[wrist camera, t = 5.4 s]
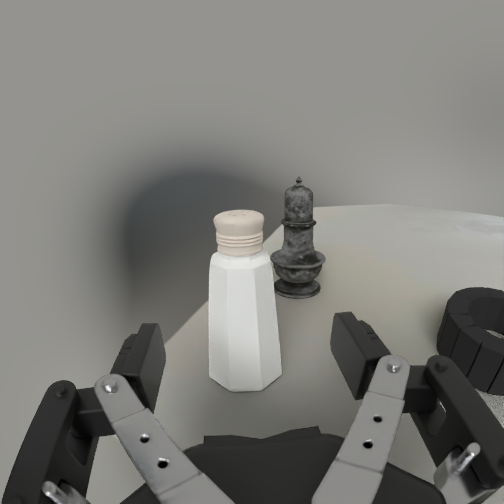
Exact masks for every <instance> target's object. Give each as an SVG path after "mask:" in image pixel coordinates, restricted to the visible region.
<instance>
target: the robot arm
mask: <svg viewBox="0 0 504 504" xmlns="http://www.w3.org/2000/svg"><path fill="white" fill-rule="evenodd" d="M330 344H331V351H332V354H333V356H334V358H335V360H336V362H337V364H338V366H339V368H340V370H341V372H342V374H343V376H344V378H345V380H346V382H347V384H348V386H349V389H350V391H351V393H352V395H353V397H354V399H355V400H360V399H363V401H362V403H361V405H360V408H359V410H358V412H357V414H356V417H355V419H354V421H353V423H352V426H351V428H350V430H349V432H348V434H347V436H346V438H342V437H339V436H336V435H331V434H323V433H320V430H319V427H318V426H315V427H309V428H302V429H295V430H290V431H287V432H284V433H281V434H278V435H275V436H271V437H268V438H265V439H257V438H249V437H242V436H235V435H222V436H204V443H203V444H199V445H196V446H193V447H190V448H188V449H186V450H184V451H182V450H181V449H180V448H179V447H178V446H177V444H176V443H175V442H174V441H173V440H172V438H171V437H170V436H169V435H168V433H167V432H166V431H165V430H164V428H163V427H162V426H161V424H160V423H159V422H158V420H157V419H156V418H155V416H154V415H153V414H154V410H155V405H156V401H157V396H158V392H159V388H160V383H161V379H162V375H163V371H164V367H165V362H166V353H165V348H164V343H163V339H162V334H161V330H160V326H159V324H157V323H143V324H142V325H141V327H140V329H139V331H138V334H132V335H130V336H129V337H128V338H127V339H126V340H125V341H124V343H123V345H122V349H121V350H120V352H119V355H118V356H117V358H116V361H115V363H114V365H113V368H112V370H111V372H110V374H109V375H105V376H103V377H101V378H100V379H98V380H97V381H96V383H95V385H94V387H92V388H85V389H76V387H75V385H74V384H73V383H72V382H70V381H66V380H61V381H57V382H55V383H53V384H52V385H51V386H50V387H49V388H48V389H47V392H46V393H45V395H44V397H43V399H42V401H41V403H40V405H39V407H38V410H37V412H36V414H35V416H34V418H33V420H32V422H31V425H30V427H29V429H28V431H27V434H26V436H25V438H24V441H23V443H22V445H21V448H20V450H19V453H18V455H17V458H16V460H15V463H14V466H13V468H12V471H11V474H10V477H9V480H8V483H7V485H6V488H5V492H4V495H3V498H2V504H91V503H90V502H89V501H88V500H86V493H87V488H88V483H89V478H90V474H91V469H92V465H93V460H94V456H95V452H96V448H97V444H98V440H99V437H100V436H107V435H115V434H116V435H117V437H118V439H119V440H120V442H121V444H122V446H123V447H124V449H125V451H126V452H127V454H128V456H129V457H130V459H131V461H132V462H133V464H134V465H135V467H136V468H137V470H138V471H139V473H140V474H141V476H142V477H143V479H144V480H145V482H146V483H144V484H143V485H142V486H141V487H140V488H138V490H136V491H135V492H134V493H132V494H131V495H130V496H129V497H127V498H126V499H125V500H124V501H122V502H121V503H120V504H481V503H483V502H484V501H485V500H486V499H488V498H489V497H490V496H491V495H492V494H494V493H495V492H496V491H497V490H498V489H499V488H501V487H502V486H503V485H504V429H503V427H502V426H501V424H500V423H499V421H498V420H497V419H496V417H495V416H494V414H493V413H492V411H491V410H490V409H489V407H488V406H487V405H486V403H485V402H484V400H483V399H482V398H481V396H480V395H479V394H478V392H477V391H476V390H475V388H474V387H473V386H472V385H471V383H470V382H469V381H468V379H467V378H466V377H465V376H464V374H463V373H462V372H461V370H460V369H459V368H458V367H457V366H456V364H455V363H454V362H453V361H452V360H451V359H450V358H448V357H446V356H442V355H435V356H432V357H430V358H429V359H428V361H427V364H426V366H411V365H409V363H408V361H407V360H406V359H404V358H402V357H400V356H397V355H392V354H391V353H390V352H389V350H388V349H387V348H386V346H385V345H384V344H383V342H382V341H381V340H380V339H379V337H378V336H377V334H376V333H375V332H374V330H373V329H372V328H371V326H370V325H368V324H367V323H365V322H364V321H362V320H361V321H358V320H357V319H356V317H355V316H354V315H353V313H352V312H342V313H335V315H334V319H333V326H332V334H331V342H330ZM440 401H441V403H442V405H443V406H444V408H445V410H446V413H445V411H444V409H443V408H442V406H441V405H440ZM402 413H410V415H411V417H412V419H413V421H414V423H415V425H416V427H417V429H418V431H419V433H420V435H421V437H422V439H423V441H424V443H425V445H426V447H427V449H428V451H429V453H430V455H431V457H432V459H433V461H434V463H435V465H436V467H437V469H436V470H435V473H434V483H435V484H434V485H433V484H431V483H429V482H427V481H425V480H423V479H421V478H418V477H416V476H414V475H412V474H410V473H408V472H406V471H404V470H402V469H400V468H398V467H396V466H394V465H392V464H390V463H388V462H387V460H388V457H389V454H390V451H391V448H392V445H393V442H394V439H395V435H396V432H397V429H398V425H399V422H400V418H401V414H402Z"/></svg>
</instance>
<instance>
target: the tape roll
mask: <svg viewBox="0 0 504 504" xmlns="http://www.w3.org/2000/svg"><path fill="white" fill-rule="evenodd" d="M484 329H488V330H494V331H496V332H498V333H501V334H503V335H504V292H503V291H502V290H497V289H491V288H486V289H485V288H484V287H474V288H465V289H462V290H459V291H456V293H454V294H453V295H452V296H451V297H450V299H449V300H448V302H447V305H446V309H445V313H444V316H443V319H442V323H441V326H440V329H439V332H438V339H437V348H438V349H437V350H438V352H439V354H440V355H442V356H446V357H448V358H450V359H451V360H452V361H453V362H454V363H455V364H456V366H457V367H458V368H459V369H460V370H461V372H462V373H463V374H464V376H465V377H466V378H467V379H468V381H469V382H470V383H471V385H472V386H473V387H474V388H477V389H479V390H481V391H483V392H486V391H487V392H488V394H495V395H504V340H503V339H501V338H498V337H496V336H494V335H491V334H490V333H488V332H487V331H486V330H484Z"/></svg>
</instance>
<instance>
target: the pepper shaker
mask: <svg viewBox="0 0 504 504" xmlns="http://www.w3.org/2000/svg"><path fill="white" fill-rule="evenodd" d="M263 223H264V216H263V215H262V214H261V213H258V212H256V211H252V210H231V211H226V212H222V213H220V214H218V215H216V216H215V218H214V224H215V227H216V230H217V232H216V239H217V240H216V242H217V243H218V247H217V250H218V252H216V253H214V254H213V255H212V258H211V262H210V272H209V377H211V378H212V379H213V380H215V381H216V382H218V383H219V384H220V385H222V386H223V387H225V388H226V389H228V390H229V391H231V392H238V391H262V390H263V389H264V388H265V387H267V386H268V385H269V384H270V383H272V382H273V381H274V380H275V379H277V378H278V377H279V376H280V375H282V367H281V355H280V344H279V333H278V323H277V312H276V302H275V292H274V282H273V273H272V266H271V260H270V256H269V253H268V252H266V251H264V250H262V249H263V246H262V240H263V238H262V237H263V231H262V227H263Z"/></svg>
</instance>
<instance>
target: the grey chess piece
mask: <svg viewBox="0 0 504 504" xmlns="http://www.w3.org/2000/svg"><path fill="white" fill-rule="evenodd" d="M296 182H297V184H296V185H294V186H293V187H290V188H289V189H287V191H286V192H285V219H283V220H282V221H281V223H282V224H283V225H284V242H283V246H282V249H281V250H278V251H276V252H274V253H272V255H271V256H270V260H271V261H272V262H273V267H274V269H275V272H276V274H277V275H278V276H279V277H280V278H281V279H279V280H277V281H276V282H275V283H274V291H275V292H276V293H277V294H279V295H281V296H284V297H288V298H308V297H312V296H314V295H316V294H318V293H319V292H320V289H321V287H320V284H319V283H318V282H317V281H315V280H313V279H314V278H315V277H317V276H318V274H319V272H320V270H321V268H322V264H323V263H324V262H325V256H324V255H323V254H322V253H320V252H318V251H315V250H314V246H313V226H314V225H315V224H316V221H315V220H313V193H312V191H311V190H310V189H309V188H307V187H304V185H301V182H302V180H301V178H300V177H298V178H297V180H296Z"/></svg>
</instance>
